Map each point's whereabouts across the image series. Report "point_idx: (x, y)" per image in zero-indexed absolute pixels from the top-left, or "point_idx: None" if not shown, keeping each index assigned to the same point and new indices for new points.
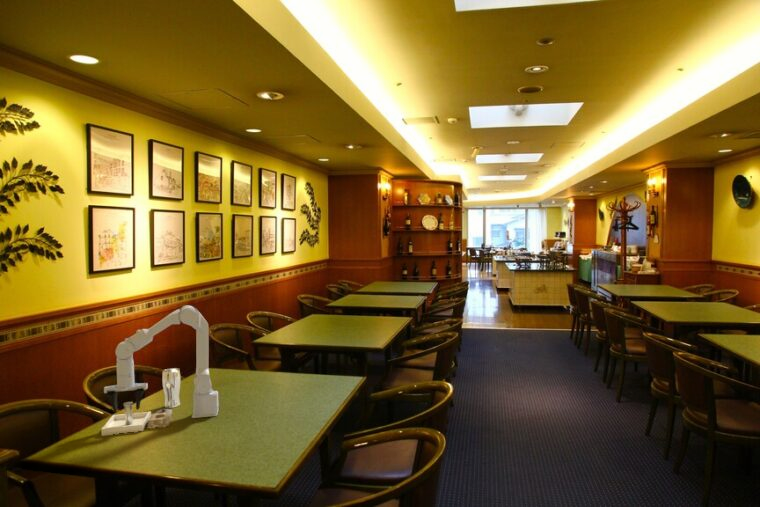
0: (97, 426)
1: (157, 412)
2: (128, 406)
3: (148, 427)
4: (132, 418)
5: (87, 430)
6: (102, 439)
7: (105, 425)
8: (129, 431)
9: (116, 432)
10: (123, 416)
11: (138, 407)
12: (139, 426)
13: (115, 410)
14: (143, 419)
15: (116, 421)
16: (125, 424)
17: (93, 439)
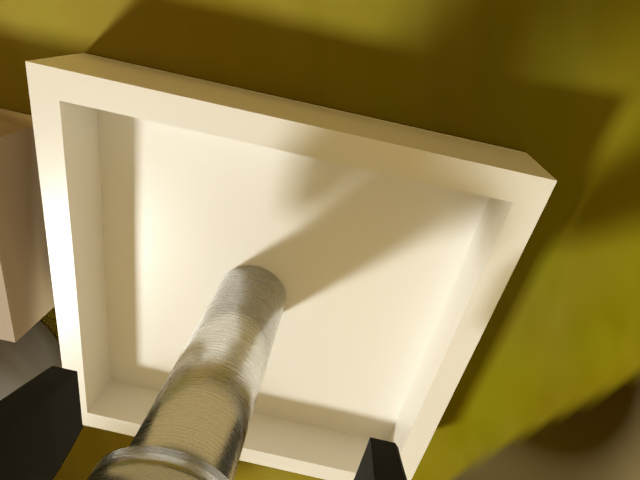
0: (527, 407)
1: (15, 388)
2: (158, 447)
3: None
4: None
5: (624, 366)
6: (530, 20)
7: (492, 279)
8: (222, 89)
9: (366, 120)
10: (312, 447)
11: (25, 388)
12: (77, 67)
13: (374, 450)
14: (138, 339)
15: (372, 406)
16: (284, 294)
17: (628, 81)
